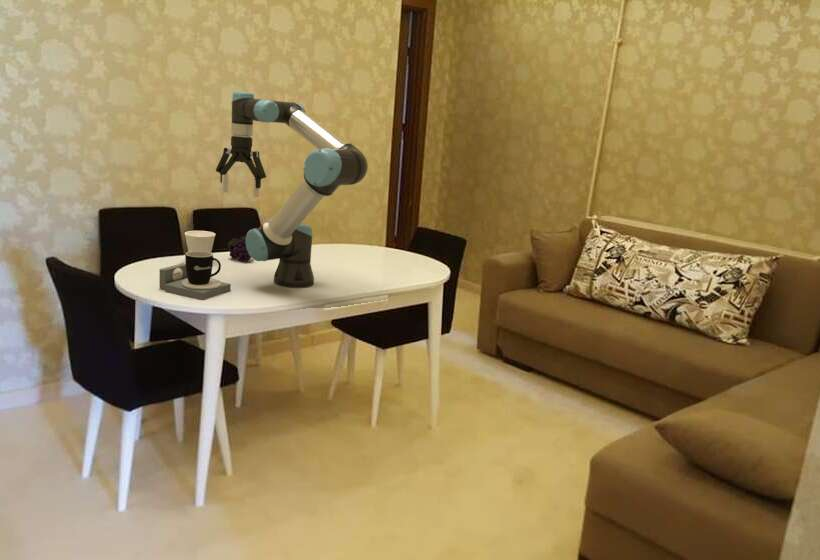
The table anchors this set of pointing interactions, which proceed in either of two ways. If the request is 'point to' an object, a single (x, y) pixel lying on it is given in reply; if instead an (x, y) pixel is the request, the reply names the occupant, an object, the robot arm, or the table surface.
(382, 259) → the table surface
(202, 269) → the mug
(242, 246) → the fruit
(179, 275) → the scale
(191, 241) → the cup
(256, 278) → the table surface
